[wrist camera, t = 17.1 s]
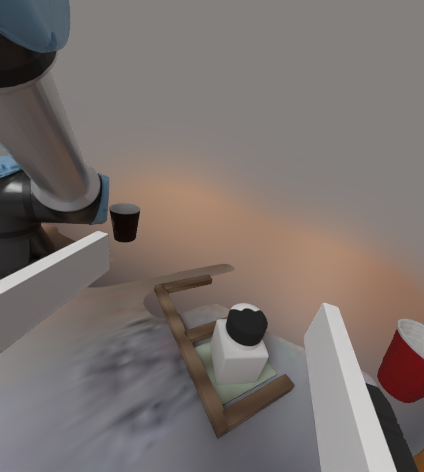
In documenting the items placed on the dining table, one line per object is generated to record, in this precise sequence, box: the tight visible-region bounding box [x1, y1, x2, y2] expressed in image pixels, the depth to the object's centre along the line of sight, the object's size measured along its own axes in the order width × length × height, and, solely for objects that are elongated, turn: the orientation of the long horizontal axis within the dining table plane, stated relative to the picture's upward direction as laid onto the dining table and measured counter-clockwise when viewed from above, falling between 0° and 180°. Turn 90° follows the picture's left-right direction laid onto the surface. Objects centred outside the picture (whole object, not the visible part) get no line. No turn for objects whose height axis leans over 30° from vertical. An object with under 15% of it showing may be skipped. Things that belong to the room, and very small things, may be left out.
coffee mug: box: [109, 203, 140, 242], centre depth 66 cm, size 12×9×10 cm
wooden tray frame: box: [154, 275, 294, 438], centre depth 43 cm, size 30×14×2 cm, turn 29°
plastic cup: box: [377, 319, 424, 403], centre depth 38 cm, size 11×11×12 cm
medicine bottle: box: [210, 303, 269, 385], centre depth 36 cm, size 7×7×12 cm
